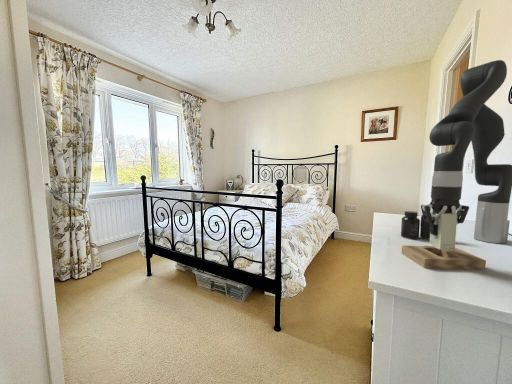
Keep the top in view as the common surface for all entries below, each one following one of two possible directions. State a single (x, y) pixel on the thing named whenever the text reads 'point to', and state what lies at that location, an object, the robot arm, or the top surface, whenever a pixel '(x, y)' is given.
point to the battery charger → (424, 229)
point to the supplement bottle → (410, 225)
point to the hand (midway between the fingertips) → (441, 234)
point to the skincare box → (445, 232)
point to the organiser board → (443, 258)
